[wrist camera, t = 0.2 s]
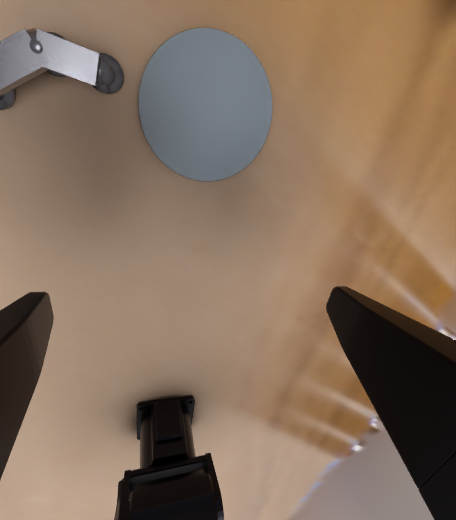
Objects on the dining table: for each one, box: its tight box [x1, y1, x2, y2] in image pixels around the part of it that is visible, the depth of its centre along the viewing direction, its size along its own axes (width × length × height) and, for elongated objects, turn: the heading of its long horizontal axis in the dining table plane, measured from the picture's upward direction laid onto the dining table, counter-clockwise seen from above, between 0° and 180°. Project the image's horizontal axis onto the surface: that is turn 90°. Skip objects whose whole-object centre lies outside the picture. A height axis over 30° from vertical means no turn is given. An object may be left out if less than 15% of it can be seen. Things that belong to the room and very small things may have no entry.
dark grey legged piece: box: [0, 29, 123, 110], centre depth 15 cm, size 4×8×4 cm, turn 82°
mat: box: [138, 28, 272, 181], centre depth 19 cm, size 9×9×1 cm
